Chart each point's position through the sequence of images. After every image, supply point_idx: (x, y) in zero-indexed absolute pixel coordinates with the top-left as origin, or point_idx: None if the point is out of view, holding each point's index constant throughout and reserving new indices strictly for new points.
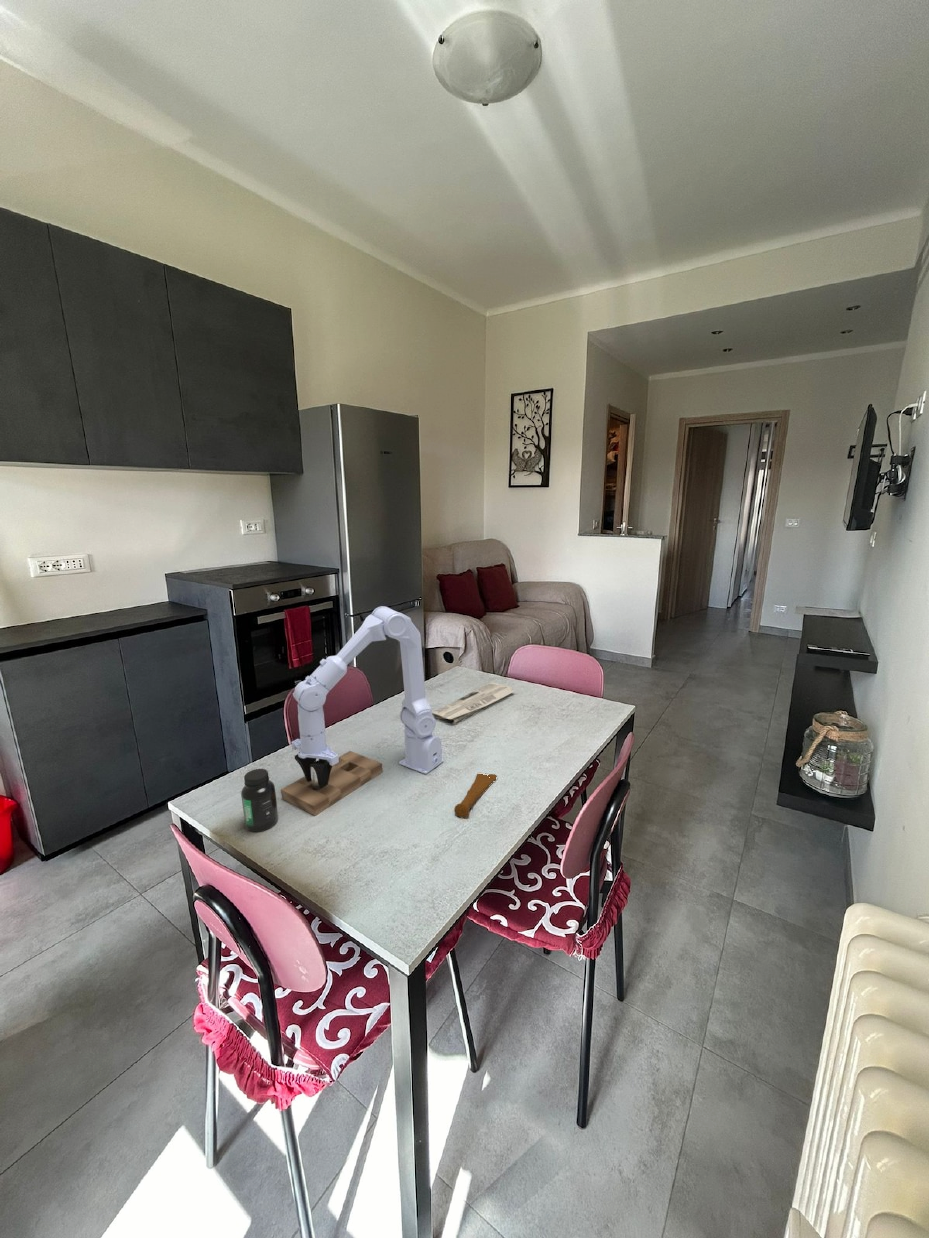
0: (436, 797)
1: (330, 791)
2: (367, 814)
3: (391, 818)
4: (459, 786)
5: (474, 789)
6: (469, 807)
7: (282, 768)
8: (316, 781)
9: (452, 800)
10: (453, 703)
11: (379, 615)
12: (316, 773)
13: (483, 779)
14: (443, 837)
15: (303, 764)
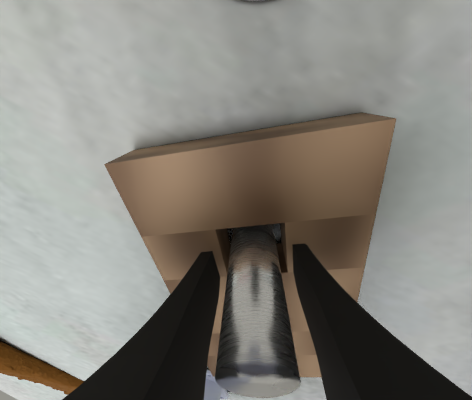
0: (63, 343)
1: (174, 257)
2: (61, 253)
3: (19, 274)
4: (79, 368)
5: (33, 379)
6: None
7: None
8: (231, 267)
9: (41, 348)
10: None
11: None
12: (173, 329)
13: (70, 390)
14: None
15: (342, 364)
